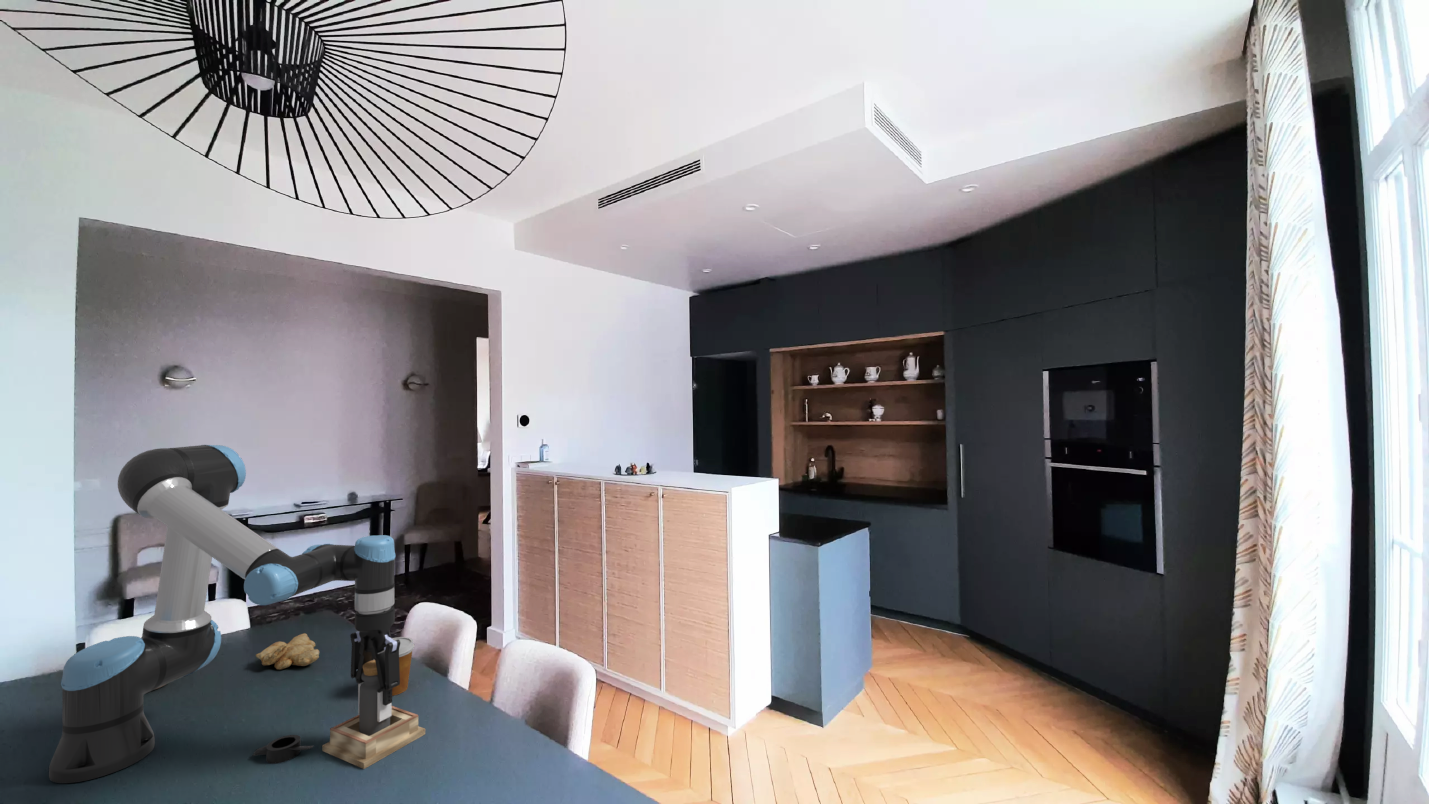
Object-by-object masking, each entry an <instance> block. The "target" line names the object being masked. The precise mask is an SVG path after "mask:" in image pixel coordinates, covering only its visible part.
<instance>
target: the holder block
mask: <svg viewBox="0 0 1429 804" xmlns="http://www.w3.org/2000/svg"><path fill="white" fill-rule="evenodd" d="M425 735H426V728H424V727H421V726H419V714H417V713H414V712H410V711H408V710H405V709H402V708H400V707H396V706H394V705H392V716H390V726H388V727H386V728H384V729H382V730H380V731H378V732H376V733H375V734H373V735H371V736H367V735H365V734H362V733H360V732H359V714H357V715H355V716H353V717H351V718H349V719H347V720H345V721H342V722H341V723H338V724H336V725H334V726H333V727H330V728H329V741H328V742H327V743H325V744H322V746H321V747H322V750H321V751H322V752H324V753H326V754H329V755H330V756H333V757H335V758H336V759H337V758H338V759H340V760H341V761H344V762H347V763H349V764H351V765H353V766H355V767H358V768H361V769H362V770H365V769H367V768H368V767H370V766H372V765H374V764H376V763H378V762H379V761H380V760H383V759H384V758H386V757H388V756H390V755H391V754H393V753H395V752H396V751H399V750H400V749H402V748H404V747H406V746H407V745H409V744H411V743H413V742H414V741H416V740H418V739H420V738H422V737H423V736H425Z"/></svg>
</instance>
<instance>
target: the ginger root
mask: <svg viewBox="0 0 1429 804" xmlns="http://www.w3.org/2000/svg"><path fill="white" fill-rule="evenodd" d="M315 647H316V643H315V641H313V640H311V639H310V637H309V636H308V634H307V633H305V632H304V633H300V634H299V635H296V636H294V637H292V639H291V640H290V641H289V642H288V643H286V642H285V641H276V642H274V643H272V644H271V645H269V646H268V647H266V648H265V649H263V650H262V651H261V652H259V653H256V654H255V658H257V659H259V660H261V665H262V666H263V667H264V666H270V665H274V668H275V669H276V670H280V671H281V670H284V669H285V670H286V669H287V668H289V667H290V666H298V667H305V666H308V665H310V664H311V665H312V663H314V662H316V661H317V660H318V659H319V658H320V656H319V655H320V650H319V649H318V648H315Z"/></svg>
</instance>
